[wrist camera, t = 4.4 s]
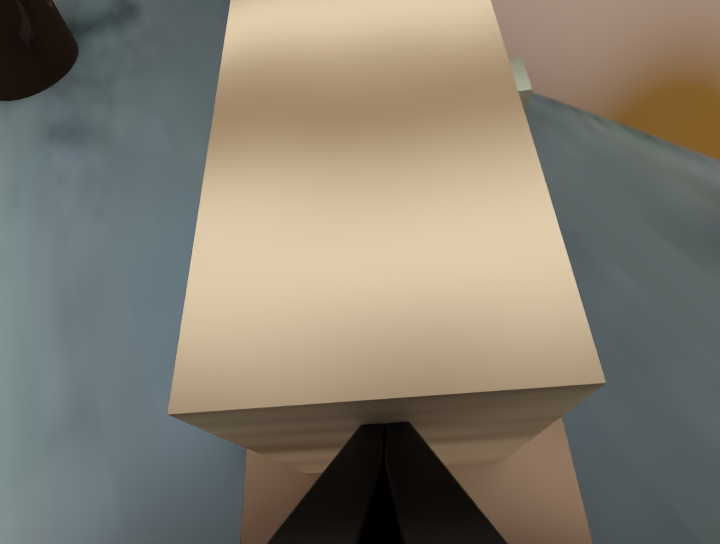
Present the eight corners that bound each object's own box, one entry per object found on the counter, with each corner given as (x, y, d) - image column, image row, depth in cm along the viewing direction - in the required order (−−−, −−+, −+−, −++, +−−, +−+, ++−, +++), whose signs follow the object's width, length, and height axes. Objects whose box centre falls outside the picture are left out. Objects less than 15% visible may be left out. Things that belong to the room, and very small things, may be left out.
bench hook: (604, 659, 13) (753, 771, 7) (249, 668, 13) (124, 774, 8) (494, 185, 21) (521, 57, 15) (274, 209, 21) (221, 96, 16)
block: (501, 461, 14) (606, 383, 6) (306, 473, 14) (167, 413, 7) (454, 196, 19) (479, -39, 11) (308, 212, 19) (231, -3, 11)
